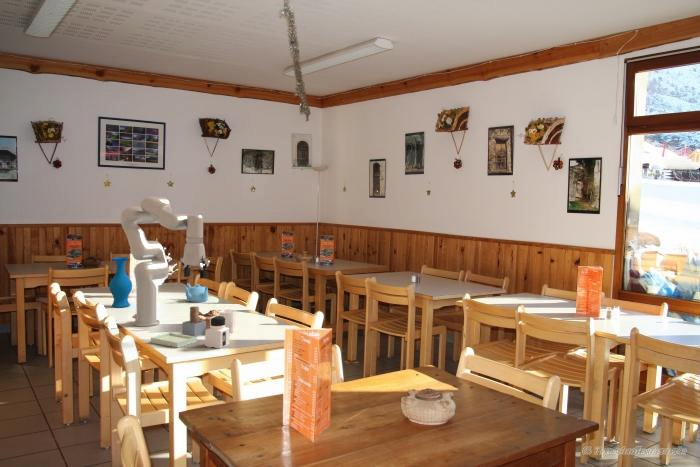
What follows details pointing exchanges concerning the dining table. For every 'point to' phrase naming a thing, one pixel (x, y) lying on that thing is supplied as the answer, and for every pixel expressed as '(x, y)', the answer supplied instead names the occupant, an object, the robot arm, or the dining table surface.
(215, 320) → the container
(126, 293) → the vase
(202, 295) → the teapot
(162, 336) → the sage tray
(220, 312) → the white cup
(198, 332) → the blue-grey block
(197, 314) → the walnut dowel
